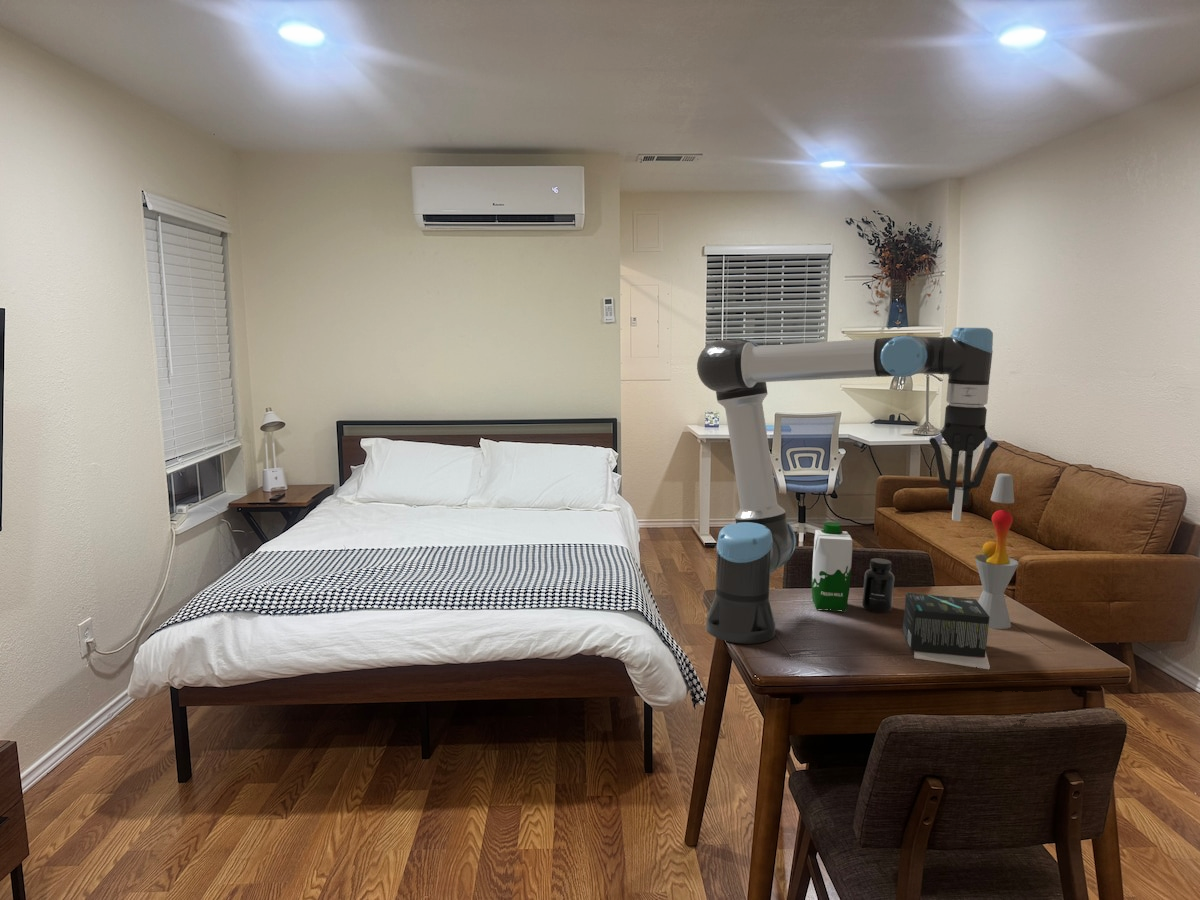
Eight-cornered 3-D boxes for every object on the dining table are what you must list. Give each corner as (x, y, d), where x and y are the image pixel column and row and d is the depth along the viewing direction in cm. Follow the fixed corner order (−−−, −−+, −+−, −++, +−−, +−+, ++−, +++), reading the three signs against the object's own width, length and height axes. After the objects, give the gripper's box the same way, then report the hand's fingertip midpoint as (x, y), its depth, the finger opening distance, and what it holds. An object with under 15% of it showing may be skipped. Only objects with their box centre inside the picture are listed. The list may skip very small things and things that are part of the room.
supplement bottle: (872, 614, 187) (876, 565, 185) (856, 604, 194) (859, 557, 192) (897, 612, 189) (901, 563, 187) (880, 602, 196) (884, 555, 194)
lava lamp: (1019, 623, 183) (1034, 475, 178) (1001, 632, 177) (1017, 479, 172) (980, 612, 190) (993, 469, 185) (962, 620, 184) (975, 473, 179)
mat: (914, 658, 162) (914, 655, 162) (913, 635, 174) (913, 633, 174) (989, 669, 157) (989, 666, 157) (983, 645, 169) (983, 643, 169)
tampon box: (910, 651, 164) (985, 659, 161) (914, 609, 163) (990, 616, 160) (901, 631, 175) (972, 639, 172) (905, 591, 173) (977, 598, 170)
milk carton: (844, 601, 196) (849, 522, 193) (850, 613, 187) (856, 531, 184) (808, 598, 197) (812, 521, 194) (813, 611, 189) (818, 530, 186)
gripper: (932, 405, 157) (922, 520, 161) (1004, 408, 153) (993, 527, 156) (930, 402, 164) (921, 512, 168) (1000, 405, 160) (989, 519, 163)
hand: (956, 519), depth 162 cm, fingers closed
